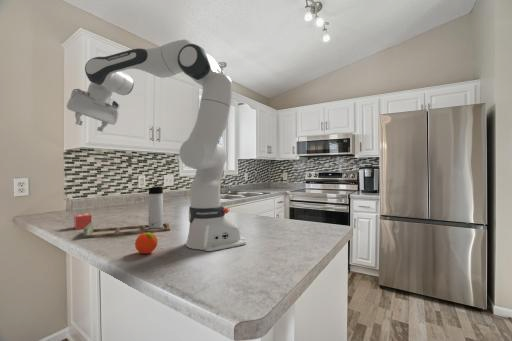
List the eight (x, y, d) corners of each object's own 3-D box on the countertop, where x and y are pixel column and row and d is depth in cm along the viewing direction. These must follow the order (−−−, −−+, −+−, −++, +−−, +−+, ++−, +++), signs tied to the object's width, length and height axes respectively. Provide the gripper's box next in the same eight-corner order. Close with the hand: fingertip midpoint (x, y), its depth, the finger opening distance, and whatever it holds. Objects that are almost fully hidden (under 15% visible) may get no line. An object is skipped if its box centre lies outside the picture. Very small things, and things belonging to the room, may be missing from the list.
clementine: (164, 252, 84) (164, 231, 84) (145, 258, 78) (145, 236, 78) (148, 248, 88) (148, 228, 88) (130, 254, 82) (130, 232, 82)
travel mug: (153, 231, 112) (153, 187, 111) (145, 229, 116) (145, 186, 115) (166, 228, 116) (166, 186, 116) (158, 226, 120) (158, 185, 120)
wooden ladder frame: (168, 225, 124) (168, 217, 124) (170, 230, 113) (170, 221, 113) (90, 231, 111) (90, 222, 111) (83, 238, 100) (83, 228, 100)
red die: (89, 225, 122) (89, 213, 122) (91, 227, 118) (91, 214, 118) (74, 227, 118) (74, 214, 118) (76, 229, 114) (75, 216, 114)
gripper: (78, 87, 96) (68, 121, 96) (123, 107, 115) (115, 135, 115) (68, 85, 99) (58, 119, 98) (114, 105, 118) (105, 133, 117)
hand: (89, 128), depth 106 cm, fingers open, 8 cm apart
